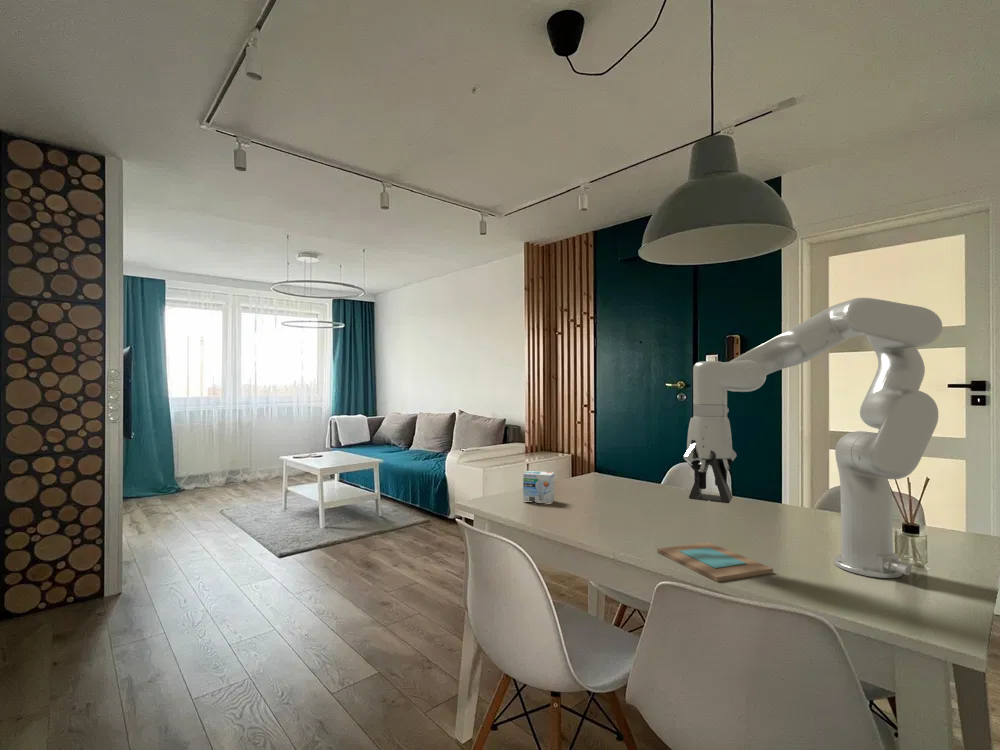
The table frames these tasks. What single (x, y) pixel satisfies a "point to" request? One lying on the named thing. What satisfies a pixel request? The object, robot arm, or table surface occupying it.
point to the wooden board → (714, 561)
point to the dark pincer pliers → (721, 484)
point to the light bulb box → (538, 486)
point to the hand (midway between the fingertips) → (710, 486)
